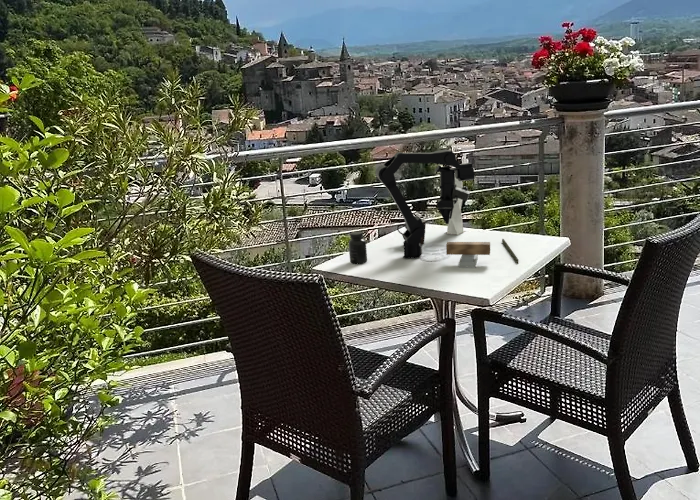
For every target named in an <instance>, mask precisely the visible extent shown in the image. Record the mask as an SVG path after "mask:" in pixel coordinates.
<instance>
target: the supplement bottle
mask: <svg viewBox="0 0 700 500" xmlns="http://www.w3.org/2000/svg"><path fill="white" fill-rule="evenodd" d="M363 234H364V233H363V231H353V232H350V240H348V251H349V252H348V253H349V262H350V263H351V264H352V265H364V264H366V263H367V261H368V253H367V241H366V240H365V238H364V235H363Z"/></svg>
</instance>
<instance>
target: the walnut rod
mask: <svg viewBox="0 0 700 500" xmlns="http://www.w3.org/2000/svg"><path fill="white" fill-rule="evenodd" d="M445 250H446V251H445V252H446V255H453V256H454V255H455V256H456V255H457V256H459V255H460V256H462V255H478V256H491V241H447V242H446V244H445Z"/></svg>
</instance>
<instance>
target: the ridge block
mask: <svg viewBox="0 0 700 500" xmlns="http://www.w3.org/2000/svg"><path fill="white" fill-rule="evenodd" d="M478 257H479V255H460V258H459V261H458V267H459V268H476V266H477V263H478V260H479V258H478Z"/></svg>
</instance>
